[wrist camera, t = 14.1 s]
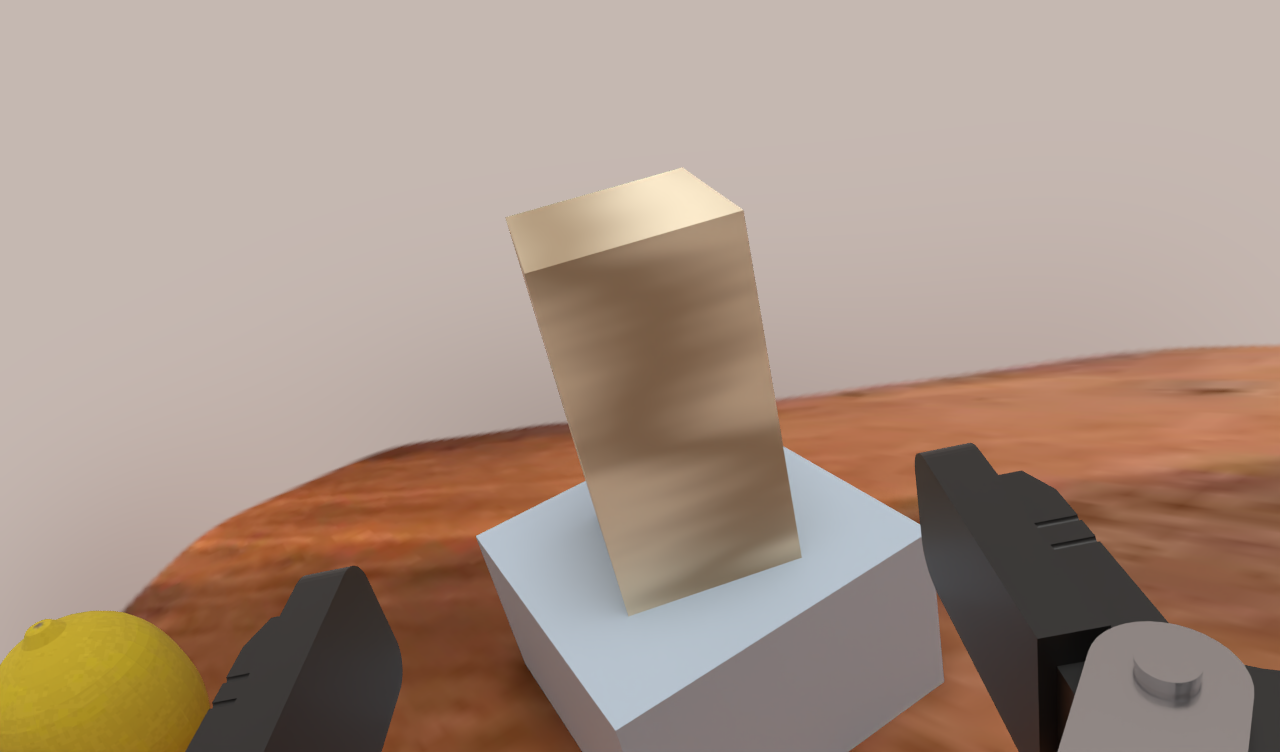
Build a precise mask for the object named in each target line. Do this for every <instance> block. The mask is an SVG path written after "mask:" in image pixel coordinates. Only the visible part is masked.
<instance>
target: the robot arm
mask: <svg viewBox="0 0 1280 752" xmlns="http://www.w3.org/2000/svg"><path fill="white" fill-rule="evenodd" d="M915 474H916V485H917V495H918V505H919V516H920V526H921V537H922V546H923V551H924V556H925V560H926V564H927V567H928V571H929V574H930V577H931V579H932V582H933V584H934V587H935V589H936V591H937V593H938V595H939V597H940V599H941V601H942V603H943V605H944V607H945V608H946V610H947V612H948V614H949V616H950V618H951V620H952V622H953V624H954V626H955V628H956V630H957V632H958V634H959V636H960V638H961V640H962V642H963V644H964V646H965V647H966V649H967V651H968V653H969V655H970V657H971V659H972V661H973V663H974V665H975V667H976V669H977V671H978V673H979V675H980V677H981V679H982V681H983V683H984V685H985V686H986V688H987V690H988V692H989V694H990V696H991V698H992V700H993V702H994V704H995V706H996V708H997V710H998V712H999V714H1000V716H1001V718H1002V720H1003V722H1004V724H1005V725H1006V727H1007V729H1008V731H1009V733H1010V735H1011V737H1012V739H1013V741H1014V743H1015V745H1016V747H1017V749H1018V751H1019V752H1280V671H1278V670H1269V669H1261V668H1256V667H1252V666H1247V665H1244V664H1243V663H1242V662H1241V661H1240V660H1239V658H1238V657H1237V656H1236V655H1235V654H1233V653H1232V652H1231V651H1230V650H1229V649H1228V648H1226V647H1225V646H1223V645H1222V644H1220V643H1219V642H1218V641H1216V640H1214V639H1212V638H1210V637H1208V636H1207V635H1205V634H1202V633H1200V632H1197V631H1195V630H1192V629H1190V628H1186V627H1183V626H1179V625H1175V624H1170V623H1168V622H1167V621H1166V619H1165V618H1164V617H1163V616H1162V615H1161V613H1160V612H1159V611H1158V610H1157V609H1156V607H1155V606H1154V605H1153V604H1152V603H1151V602H1150V600H1149V599H1148V598H1147V597H1146V596H1145V594H1144V593H1143V592H1142V591H1141V590H1140V589H1139V587H1138V586H1137V585H1136V584H1135V583H1134V581H1133V580H1132V579H1131V578H1130V577H1129V575H1128V574H1127V573H1126V572H1125V571H1124V570H1123V568H1122V567H1121V566H1120V565H1119V564H1118V562H1117V561H1116V560H1115V559H1114V558H1113V556H1112V555H1111V554H1110V553H1109V552H1108V551H1107V549H1106V548H1105V547H1104V546H1103V545H1102V543H1101V542H1097V541H1096V538H1095V535H1094V534H1093V533H1092V532H1091V530H1090V529H1089V528H1088V527H1087V526H1086V524H1085V523H1084V522H1083V521H1082V520H1079V519H1078V516H1077V514H1076V513H1075V511H1074V510H1073V509H1072V508H1071V507H1070V505H1069V504H1068V503H1067V502H1066V501H1065V500H1064V498H1063V497H1062V496H1061V495H1060V494H1059V492H1058V491H1057V490H1056V489H1054V488H1053V487H1051V486H1049V485H1047V484H1045V483H1043V482H1042V481H1040V480H1038V479H1036V478H1034V477H1032V476H1031V475H1029V474H1027V473H1025V472H1023V471H1017V472H1012V473H1007V474H1002V475H998V474H997V473H996V472H995V470H994V469H993V468H992V466H991V465H990V464H989V462H988V461H987V460H986V458H985V457H984V456H983V454H982V453H981V452H980V450H979V449H978V448H977V447H976V446H975V445H974V444H973V443H967V444H962V445H957V446H952V447H947V448H942V449H937V450H932V451H928V452H923V453H918V454H916V457H915ZM226 678H227V683H224V684H222V686H221V688H220V690H219V692H218V693H217V695H216V697H215V699H214V701H213V702H212V703H213V709H209V710H208V712H207V713H206V715H205V717H204V719H203V721H202V722H201V724H200V726H199V728H198V730H197V731H196V733H195V735H194V737H193V739H192V740H191V742H190V744H189V746H188V748H187V749H186V751H185V752H381V751H382V748H383V745H384V741H385V738H386V735H387V731H388V728H389V725H390V722H391V718H392V715H393V712H394V708H395V705H396V702H397V698H398V695H399V692H400V688H401V683H402V659H401V653H400V649H399V646H398V643H397V641H396V639H395V636H394V634H393V632H392V630H391V628H390V626H389V624H388V621H387V619H386V617H385V615H384V613H383V611H382V609H381V607H380V604H379V602H378V600H377V598H376V596H375V594H374V592H373V589H372V587H371V585H370V583H369V581H368V579H367V577H366V575H365V573H364V572H363V571H362V570H361V569H360V568H359V567H357V566H350V567H345V568H340V569H335V570H330V571H325V572H320V573H316V574H311V575H306V576H303V577H302V578H301V579H300V580H299V581H298V583H297V584H296V586H295V588H294V590H293V592H292V594H291V596H290V598H289V600H288V601H287V603H286V605H285V607H284V609H283V611H282V613H281V615H280V616H278V617H273V618H271V619H270V620H269V621H268V622H267V623H266V624H265V625H264V626H263V627H262V628H261V629H260V630H259V631H258V632H257V633H256V634H255V635H254V636H253V637H252V638H251V639H250V641H249V642H248V643H247V644H246V645H245V646H244V647H243V648H242V650H241V652H240V654H239V655H238V657H237V659H236V661H235V663H234V665H233V666H232V668H231V670H230V672H229V674H228V675H227V677H226Z"/></svg>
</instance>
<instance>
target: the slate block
mask: <svg viewBox="0 0 1280 752" xmlns="http://www.w3.org/2000/svg"><path fill="white" fill-rule="evenodd" d="M783 449H784V455H785V461H786V467H787V473H788V478H789V484H790V490H791V496H792V502H793V508H794V514H795V520H796V526H797V532H798V538H799V544H800V550H801V556H802V558H799V559H796V560H793V561H790V562H787V563H785V564H782V565H779V566H776V567H773V568H770V569H767V570H764V571H761V572H758V573H755V574H752V575H749V576H746V577H743V578H740V579H737V580H734V581H732V582H729V583H726V584H723V585H720V586H717V587H714V588H711V589H708V590H705V591H702V592H699V593H696V594H693V595H690V596H687V597H684V598H681V599H679V600H676V601H673V602H670V603H667V604H664V605H661V606H658V607H655V608H652V609H649V610H646V611H643V612H640V613H637V614H634V615H631V616H628V613H627V610H626V607H625V604H624V601H623V598H622V595H621V591H620V588H619V585H618V582H617V579H616V576H615V573H614V569H613V566H612V563H611V560H610V557H609V554H608V551H607V547H606V544H605V541H604V538H603V535H602V532H601V529H600V525H599V522H598V519H597V516H596V513H595V510H594V506H593V503H592V500H591V497H590V493H589V490H588V487H587V483H586V481H585V482H583V483H581V484H579V485H577V486H575V487H573V488H571V489H569V490H567V491H565V492H563V493H561V494H559V495H557V496H555V497H553V498H551V499H549V500H547V501H545V502H543V503H541V504H539V505H537V506H535V507H533V508H531V509H529V510H527V511H525V512H523V513H521V514H519V515H517V516H515V517H513V518H511V519H509V520H507V521H505V522H503V523H501V524H499V525H497V526H495V527H493V528H491V529H489V530H487V531H485V532H483V533H481V534H479V535H477V536H476V538H477V541H478V544H479V546H480V549H481V551H482V554H483V556H484V559H485V562H486V564H487V567H488V569H489V572H490V574H491V577H492V580H493V582H494V585H495V587H496V590H497V592H498V595H499V598H500V600H501V603H502V605H503V608H504V610H505V613H506V616H507V618H508V621H509V623H510V626H511V628H512V631H513V634H514V636H515V639H516V641H517V644H518V647H519V649H520V652H521V654H522V657H523V659H524V662H525V664H526V666H527V667H528V669H529V670H530V672H531V673H532V675H533V676H534V678H535V680H536V681H537V683H538V684H539V686H540V687H541V689H542V690H543V692H544V693H545V695H546V697H547V698H548V700H549V701H550V703H551V704H552V706H553V707H554V709H555V710H556V712H557V714H558V715H559V717H560V718H561V720H562V721H563V723H564V724H565V726H566V727H567V729H568V731H569V732H570V734H571V735H572V737H573V738H574V740H575V741H576V743H577V744H578V746H579V748H580V749H581V751H582V752H849V751H850V750H851V749H853V748H854V747H856V746H857V745H858V744H860V743H861V742H862V741H864V740H865V739H866V738H868V737H869V736H871V735H872V734H873V733H875V732H876V731H877V730H879V729H880V728H882V727H883V726H884V725H886V724H887V723H888V722H890V721H891V720H893V719H894V718H895V717H897V716H898V715H899V714H901V713H902V712H904V711H905V710H906V709H908V708H909V707H910V706H912V705H913V704H914V703H916V702H917V701H919V700H920V699H921V698H923V697H924V696H925V695H927V694H928V693H930V692H931V691H932V690H934V689H935V688H936V687H938V686H939V685H941V684H942V683H943V682H944V674H943V663H942V652H941V641H940V629H939V618H938V607H937V596H936V589H935V587H934V584H933V582H932V579H931V577H930V574H929V571H928V567H927V564H926V560H925V556H924V551H923V546H922V537H921V526H920V524H918V523H916V522H915V521H913V520H911V519H909V518H908V517H906V516H904V515H902V514H901V513H899V512H897V511H895V510H894V509H892V508H890V507H888V506H887V505H885V504H883V503H881V502H880V501H878V500H876V499H874V498H873V497H871V496H869V495H867V494H866V493H864V492H862V491H860V490H859V489H857V488H855V487H853V486H852V485H850V484H848V483H846V482H845V481H843V480H841V479H839V478H838V477H836V476H834V475H832V474H831V473H829V472H827V471H825V470H824V469H822V468H820V467H818V466H817V465H815V464H813V463H811V462H810V461H808V460H806V459H804V458H803V457H801V456H799V455H797V454H796V453H794V452H792V451H790V450H789V449H787V448H785V447H783Z"/></svg>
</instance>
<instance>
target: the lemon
mask: <svg viewBox="0 0 1280 752" xmlns="http://www.w3.org/2000/svg"><path fill="white" fill-rule="evenodd" d="M209 709H210V705H209V700H208V694H207V691H206V688H205V685H204V682H203V680H202V678H201V676H200V674H199V672H198V670H197V669H196V667H195V666H194V664H193V663H192V662H191V660H190V659H189V658H188V656H187V655H186V654H185V653H184V652H183V651H182V649H181V648H180V647H179V646H178V645H177V644H176V643H175V642H174V641H173V640H172V639H171V638H170V637H169V636H168V635H166V634H165V633H164V632H163V631H162V630H160V629H159V628H157V627H156V626H154V625H153V624H151V623H149V622H147V621H145V620H144V619H141V618H138V617H136V616H133V615H130V614H127V613H123V612H116V611H89V612H83V613H76V614H71V615H68V616H65V617H62V618H59V619H57V620H52V619H45V620H41V621H39V622H37V623H35V624H34V625H32V626H31V627H30V628H29V629H28V630H27V631H26V633H25V636H24V639H23V640H22V641H21V642H20V643H18V644H17V645H16V646H15V647H14V648H13V649H12V650H11V651H10V652H9V654H8V655H7V656H6V658H5V659H4V660H3V662H2V663H1V665H0V752H185V751H186V749H187V748H188V746H189V744H190V742H191V740H192V739H193V737H194V735H195V733H196V731H197V730H198V728H199V726H200V724H201V722H202V721H203V719H204V717H205V715H206V713H207V712H208V710H209Z"/></svg>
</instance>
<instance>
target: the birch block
mask: <svg viewBox="0 0 1280 752" xmlns="http://www.w3.org/2000/svg"><path fill="white" fill-rule="evenodd" d="M506 221H507V224H508V227H509V231H510V234H511V237H512V241H513V244H514V247H515V250H516V254H517V257H518V260H519V264H520V267H521V270H522V273H523V277H524V280H525V283H526V286H527V289H528V293H529V296H530V300H531V303H532V306H533V309H534V313H535V316H536V319H537V323H538V326H539V329H540V332H541V336H542V339H543V342H544V345H545V349H546V352H547V355H548V359H549V362H550V365H551V368H552V372H553V375H554V378H555V382H556V385H557V388H558V392H559V395H560V398H561V401H562V405H563V408H564V411H565V414H566V417H567V421H568V424H569V428H570V431H571V434H572V437H573V441H574V444H575V447H576V451H577V454H578V457H579V460H580V464H581V467H582V470H583V474H584V477H585V480H586V483H587V487H588V490H589V493H590V497H591V500H592V503H593V506H594V510H595V513H596V516H597V519H598V522H599V525H600V529H601V532H602V535H603V538H604V541H605V544H606V547H607V551H608V554H609V557H610V560H611V563H612V566H613V569H614V573H615V576H616V579H617V582H618V585H619V588H620V591H621V595H622V598H623V601H624V604H625V607H626V610H627V613H628V616H631V615H634V614H637V613H640V612H643V611H646V610H649V609H652V608H655V607H658V606H661V605H664V604H667V603H670V602H673V601H676V600H679V599H681V598H684V597H687V596H690V595H693V594H696V593H699V592H702V591H705V590H708V589H711V588H714V587H717V586H720V585H723V584H726V583H729V582H732V581H734V580H737V579H740V578H743V577H746V576H749V575H752V574H755V573H758V572H761V571H764V570H767V569H770V568H773V567H776V566H779V565H782V564H785V563H787V562H790V561H793V560H796V559H799V558H802V556H801V550H800V544H799V538H798V532H797V526H796V520H795V514H794V508H793V502H792V496H791V490H790V484H789V478H788V473H787V467H786V461H785V455H784V449H783V443H782V437H781V431H780V425H779V419H778V413H777V407H776V401H775V395H774V389H773V383H772V377H771V371H770V365H769V360H768V354H767V348H766V342H765V336H764V330H763V324H762V318H761V312H760V306H759V301H758V294H757V288H756V282H755V277H754V271H753V264H752V259H751V253H750V247H749V241H748V235H747V229H746V223H745V217H744V211H743V210H742V209H741V208H739V207H738V206H737V205H735V204H734V203H732V202H731V201H730V200H728V199H727V198H725V197H724V196H722V195H721V194H719V193H718V192H716V191H715V190H714V189H712V188H711V187H709V186H708V185H707V184H705V183H704V182H702V181H701V180H700V179H698V178H697V177H695V176H694V175H693V174H691V173H689V172H688V171H687V170H685V169H684V168H679V169H676V170H672V171H668V172H665V173H661V174H658V175H654V176H650V177H647V178H644V179H640V180H637V181H633V182H629V183H626V184H622V185H619V186H615V187H612V188H608V189H604V190H601V191H597V192H594V193H590V194H587V195H584V196H580V197H576V198H573V199H569V200H566V201H562V202H558V203H555V204H551V205H548V206H544V207H541V208H537V209H534V210H531V211H527V212H523V213H520V214H516V215H512V216H509V217H506Z"/></svg>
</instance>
